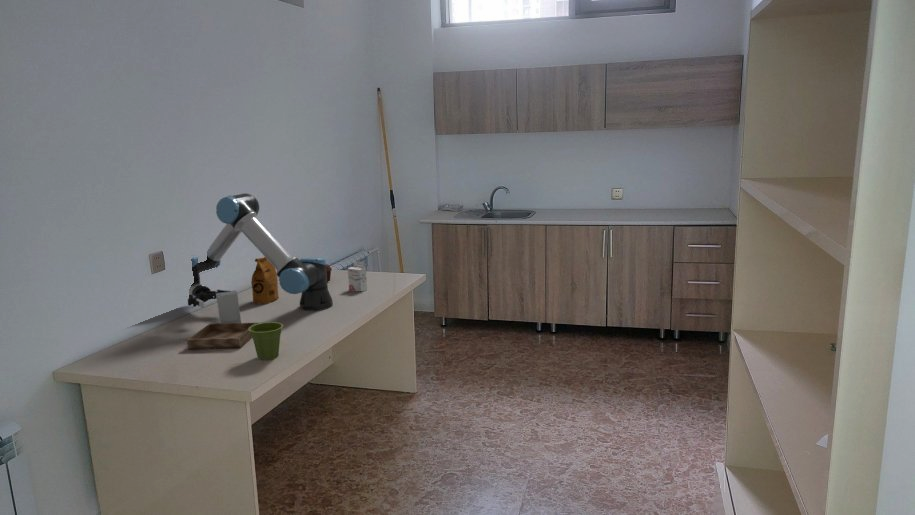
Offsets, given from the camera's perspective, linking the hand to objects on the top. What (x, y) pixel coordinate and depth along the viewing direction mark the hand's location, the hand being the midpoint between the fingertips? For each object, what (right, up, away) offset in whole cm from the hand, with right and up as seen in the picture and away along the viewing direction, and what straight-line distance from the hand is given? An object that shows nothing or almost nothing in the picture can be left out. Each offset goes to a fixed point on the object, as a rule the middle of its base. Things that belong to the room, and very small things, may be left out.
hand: (218, 301), depth 262 cm
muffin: (+29, +6, +71) cm, 77 cm away
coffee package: (+9, -2, +35) cm, 36 cm away
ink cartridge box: (+52, +2, +50) cm, 72 cm away
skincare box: (+7, -10, -5) cm, 14 cm away
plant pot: (+35, -17, -43) cm, 58 cm away
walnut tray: (+12, -14, -23) cm, 29 cm away
